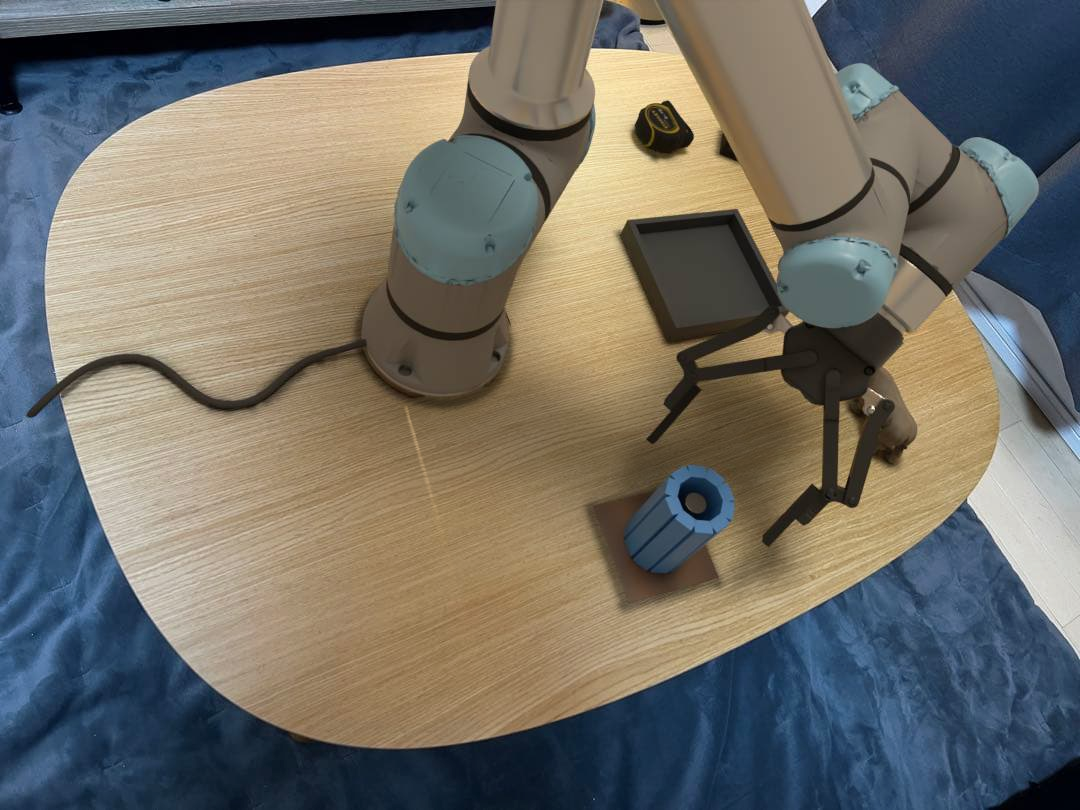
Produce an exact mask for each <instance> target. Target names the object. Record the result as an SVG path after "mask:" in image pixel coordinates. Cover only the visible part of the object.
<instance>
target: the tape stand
mask: <svg viewBox="0 0 1080 810" xmlns="http://www.w3.org/2000/svg"><path fill="white" fill-rule="evenodd" d="M654 492H655V491H651V492H647V493H642V494H637V495H633V496H630V497H625V498H621V499H616V500H612V501H608V502H603V503H600V504H595V505H592V508H593V511H594V513H595V517H596V518H597V521H598V525H599V527H600V530H601V532H602V535H603V538H604V541H605V543H606V546H607V549H608V551H609V554H610V557H611V559H612V562H613V565H614V568H615V571H616V573H617V576H618V579H619V581H620V583H621V587H622V591H623V592H624V595H625V597H626V600H627V603H628V604H631V603H634V602H638V601H641V600H645V599H648V598H652V597H655V596H658V595H663V594H666V593H669V592H673V591H676V590H681V589H683V588H684V589H685V588H688V587H691V586H694V585H698V584H702V583H706V582H708V581H712V580H716V579H719V577H720V576H719V575H718V572H717V570H716V568H715V564H714V563H713V560H712V558H711V556H710V553H709V550H708V548H707V546H706V544H705V545H704V546H703V547H702V548H701V549H699V550H698V551H697V552H696V553H695V554H694V555H692V556H691V557H690V558H689V559H688V560H686V561H685V562H684V563H683V564H681V565H680V566H679V567H677V568H676V569H675V570H673V571H672V572H668V573H666V574H665V573H651V572H650V568H649V569H648V570H647V571H646V570H645V569H643V568H642V567H641V566H639V565H638V564H637V563H636V562H634V561H633V559H634V557H635V556H632V557H630V555H629V552H628V550H627V547H626V545H625V542H624V541H625V539H626V538H625V537H624V535H625V531H626V527H627V524H628V522H629V521H630V519H631V518H632V516H633V515H634V514H635V513H636V512H637V511H638V510H639V509H640V508H641V507H642V505H643V504H644V503H645V502H646V501H647V500H648V499H649V498H650V497H651V495H652V494H653V493H654ZM680 504H681V506H682V508H683V510H684V511H685V512H686V513H688V514H689V515H690V516H691V517H693V518H694V519H696V518H697V517H698V516H699V515H701V514H702V513H703V512H704V511H705V509H706V501H705V499H704V497H703V496H702V495H700V494H698V493H690V494H688V495H687V496H686V497H685V498H684V499H683V500H682V501H681V502H680Z"/></svg>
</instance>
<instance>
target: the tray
mask: <svg viewBox="0 0 1080 810" xmlns="http://www.w3.org/2000/svg"><path fill="white" fill-rule="evenodd" d="M619 236H620V238H621V240H622V242H623V244H624V247H625V250H626V252H627V254H628V256H629V259H630V261H631V262H632V265H633V268H634V270H635V272H636V274H637V277H638V278H639V281H640V282H641V285H642V288H643V291H644V292H645V294H646V296H647V299H648V301H649V303H650V306H651V308H652V310H653V312H654V315H655V317H656V320H657V321H658V323H659V326H660V329H661V330H662V333H663V335H664V337H665V339H666V341H667V342H674V341H680V340H681V341H682V340H686V339H687V340H688V339H692V338H693V339H694V338H698V337H699V338H700V337H704V336H705V337H706V336H712V335H717V334H718V335H719V334H722V333H725V332H727V331H729V330H732V329H734V328H736V327H739V326H741V325H743V324H746V323H748V322H751V321H753V320H754V319H755V318H756V317H757V316H758V315H760V314H761V313H762V312H763V311H764V310H765V309H766V308H767V307H769V306H771V305H775V306H777V307H778V308H779V310H780V313H781V314H782V315H783V316H784V317H785V318H786V317H787V316H788V315H789V313H791V312H790V311H788V310H787V309H786V307H785V306H784V305H783V303H782V302H781V300H780V298H779V296H778V292H777V280H775V278H774V276H773V274H772V272H771V270H770V268H769V266H768V264H767V263H766V261H765V259H764V257H763V254H762V253H761V251H760V249H759V247H758V245H757V243H756V241H755V240H754V237H753V235H752V233H751V231H750V230H749V228H748V226H747V224H746V222H745V220H744V218H743V216H742V215H741V213H740V211H739V208H732V209H722V210H712V211H702V212H693V213H683V214H673V215H663V216H652V217H643V218H634V219H627V220H626V221H625V224H624V226H623V228H622V229H621V232H620V235H619Z"/></svg>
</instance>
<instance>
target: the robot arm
mask: <svg viewBox="0 0 1080 810" xmlns="http://www.w3.org/2000/svg"><path fill="white" fill-rule="evenodd" d="M495 1H496V2H495V7H494V8H495V9H494V15H493V22H492V30H491V36H490V43H489V45H488V46H487V47H485V48H483V49H482V50H481V51H479V52H478V53H477V54H476V56H475V57H474V58H473V60H472V61H471V63H470V66H469V70H468V75H467V84H466V91H465V98H464V108H463V113H462V116H461V119H460V122H459V125H458V126H457V127H456V129H455V131H454V132H453V133H452V134H451V136H450V137H449V139H448V140H447V139H445V138H442V139H439V140H437V141H435V142H433V143H431V144H429V145H428V146H426V147H424V148H423V149H422V150H421V151H420V152H418V154H417V155H416V156H415V157H414V158H413V159H412V161H411V162H410V163H409V165H408V167H407V168H406V170H405V172H404V175H403V177H402V179H401V182H400V185H399V187H398V190H397V195H396V200H395V202H394V206H393V207H394V211H393V217H394V219H393V227H392V236H391V242H390V250H389V256H388V257H389V259H388V267H387V274H386V277H385V278H384V280H383V282H381V284H380V285H379V286H378V288H376V289H375V290H374V292H373V293H372V295H371V296H370V298H369V300H368V302H367V304H366V305H365V309H364V310H363V311H364V312H363V315H362V321H361V329H360V331H361V332H360V339H359V340H356V341H351V342H350V343H349V342H348V343H345V344H342V345H339V346H337V347H332V348H327V349H323V350H320V351H318V352H315V353H312V354H310V355H308V356H306V357H304V358H302V359H300V360H299V361H296V363H294V364H293V365H291V366H290V367H289V368H288V369H286V371H284V372H283V373H282V374H281V375H280V376H278V378H276V379H275V380H274V381H273V382H271V384H269V385H268V386H267V387H265V388H264V389H263V390H262V391H260V392H258V393H256V394H255V395H252V396H250V397H246V398H243V399H236V400H222V399H218V398H215V397H211V396H210V395H207V394H205V393H203V392H202V391H200V390H199V389H197V388H196V387H195V386H193V385H192V384H191V383H189V382H188V381H187V380H186V379H185V378H183V377H182V376H181V375H180V374H179V373H178V372H177V371H175V370H174V369H173V368H171V367H170V366H168V365H167V364H166V363H164V362H162V361H161V360H158V359H156V358H154V357H151V356H149V355H144V354H141V353H140V354H139V353H120V354H113V355H109V356H104V357H100V358H97V359H95V360H93V361H90V362H88V363H86V364H84V365H81V366H80V367H78V368H76V369H75V370H74V371H72V372H71V373H69V374H68V375H66V376H65V377H64V378H63V379H62V380H59V382H58V383H56V384H55V385H54V386H53V387H52V388H51V389H50V390H49V391H47V392H46V393H45V394H44V395H43V396H42V397H41V398H40V399H39V400H38V401H37V402H35V404H34V405H32V406H31V408H30V409H29V410H28V411H27V412H26V414H25V416H26V417H27V419H32V418H35V417H36V416H38V415H39V413H40V412H41V411H42V410H44V409H45V408H46V407H47V406H48V405H49V404H50V403H51V402H52V401H53V400H54V399H55V398H56V397H57V396H58V395H60V394H61V392H63V391H64V390H65V389H66V388H67V387H69V386H70V385H71V384H72V383H74V382H75V381H77V380H78V379H80V378H81V377H83V376H84V375H86V374H88V373H90V372H92V371H94V370H95V369H98V368H101V367H104V366H107V365H111V364H115V363H123V362H137V363H142V364H146V365H149V366H152V367H154V368H155V369H157V370H159V371H160V372H162V373H163V374H165V375H166V376H167V377H169V378H170V379H171V380H172V381H174V382H175V384H177V385H178V386H179V387H181V389H183V390H184V391H185V392H186V393H188V394H189V395H191V397H194V398H195V399H197V400H198V401H200V402H203V403H204V404H206V405H209V406H213V407H216V408H220V409H239V408H245V407H248V406H252V405H255V404H257V403H259V402H261V401H263V400H265V399H266V398H268V397H269V396H271V395H272V394H273V393H274V392H276V390H278V389H279V388H280V387H282V386H283V384H285V383H286V382H287V381H288V380H289V379H290V378H291V377H292V376H294V375H295V374H296V373H298V372H299V371H301V370H302V369H303V368H305V367H306V366H308V365H311V364H312V363H314V362H317V361H319V360H322V359H326V358H329V357H333V356H337V355H341V354H344V353H347V352H350V351H354V350H358V349H360V348H362V350H363V353H364V356H365V357H366V359H367V360H366V361H367V362H368V363H369V366H370V367H371V368H372V369H373V371H374V372H375V373H376V374H377V375H378V376H379V378H381V379H382V380H383V381H384V383H386V384H387V385H389V386H390V387H392V388H393V389H396V391H398V392H400V393H402V394H404V395H407V396H410V397H412V398H416V399H419V398H423V397H425V398H426V397H427V398H432V399H450V398H456V397H462V396H465V395H469V394H471V393H474V392H476V391H478V390H480V389H481V388H484V387H487V386H489V385H490V384H491V383H492V382H493V381H494V379H496V377H497V376H498V375H499V373H500V371H501V369H502V367H503V364H504V362H505V360H506V357H507V354H508V351H509V345H510V344H509V343H510V329H509V327H510V328H512V324H511V320H510V318H509V315H508V313H507V311H506V305H507V302H508V299H509V296H510V294H511V290H512V287H513V285H514V282H515V279H516V276H517V274H518V272H519V270H520V268H521V265H522V264H523V262H524V259H525V257H526V256H527V254H528V252H529V251H530V249H531V247H532V245H533V244H534V242H535V240H536V238H537V237H538V236H539V234H540V232H541V230H542V228H543V226H544V225H545V223H546V222H547V220H548V218H549V216H550V215H551V213H552V212H553V210H554V209H555V207H556V205H557V203H558V202H559V199H560V198H561V197H562V195H563V193H564V191H565V190H566V188H567V186H568V184H569V183H570V181H571V180H572V178H573V176H574V175H575V173H576V172H577V170H578V169H579V167H580V165H581V164H582V163H583V162H584V161H585V159H586V157H587V156H588V153H589V150H590V148H591V145H592V141H593V137H594V133H595V130H596V121H597V118H596V116H597V115H596V107H595V99H596V87H595V82H594V80H593V77H592V76H591V74H590V72H589V71H588V70H587V65H588V62H589V57H590V54H591V49H592V47H593V43H594V42H593V41H594V38H595V34H596V32H597V31H596V30H597V26H598V23H599V19H600V17H601V16H600V15H601V11H602V8H603V5H604V4H603V3H604V0H495ZM653 1H654V3H655V5H656V7H657V9H658V11H659V13H660V14H661V17H662V19H663V20H664V22H665V24H666V26H667V28H668V30H669V32H670V34H671V36H672V37H673V39H674V42H675V44H676V45H677V47H678V49H679V51H680V53H681V54H682V56H683V59H684V61H685V62H686V64H687V66H688V68H689V70H690V72H691V74H692V76H693V78H694V80H695V81H696V84H697V85H698V87H699V89H700V91H701V93H702V95H703V97H704V98H705V99H704V100H705V101H706V103H707V104H708V106H709V108H710V110H711V112H712V114H713V116H714V118H715V120H716V121H717V123H718V125H719V127H720V129H721V131H722V134H723V133H724V135H725V137H726V139H727V140H728V142H729V144H730V146H731V148H732V150H733V152H734V154H735V156H736V158H737V160H736V161H737V162H738V163H739V165H740V167H741V169H742V171H743V173H744V176H745V177H746V179H747V181H748V183H749V184H750V186H751V188H752V189H753V192H754V194H755V196H756V198H757V199H758V201H759V203H760V206H761V207H762V209H763V211H764V213H765V214H766V217H767V219H768V221H769V223H770V226H771V228H772V230H773V232H774V234H775V236H776V238H777V240H778V242H779V244H780V245H781V249H782V253H783V254H782V255H781V256H780V258H779V260H778V263H777V269H778V273H777V276H776V283H777V292H778V296H779V298H780V300H781V302H782V303H783V305H784V306H785V307H786V309H787V310H788V311H790V312H789V313H790V314H792V315H793V316H794V317H796V318H797V319H799V320H800V321H801V322H800V323H797V324H795V325H793V324H792V323H791V322H790V321H789V320H788V319H787V318H786V317H784V316H783V315H782V314H781V313H780V310H779V308H778V307H777V306H775V305H771V306H769V307H767V308H766V309H765V310H764V311H763V312H762V313H761V314H760V315H758V316H757V317H756V318H755V319H754V320H753V321H751V322H748V323H746V324H743V325H741V326H739V327H736V328H734V329H732V330H729V331H727V332H724V333H719V334H718V335H715V336H713V337H711V338H708V339H706V340H703V341H701V342H698V343H697V344H694V345H691V346H689V347H687V348H684V349H682V350H680V351H679V352H677V354H676V357H675V359H676V362H677V363H678V364H679V366H680V367H681V370H682V371H683V377H682V379H681V380H680V381H679V382H678V383H677V384H676V386H675V387H674V388H673V389H672V390H671V391H670V392H669V394H668V395H667V396H666V397H665V398H664V401H663V403H662V405H663V406H664V407H665V408H667V410H668V411H670V412H669V413H667V415H666V416H665V417H664V418H663V419H662V420H661V422H660V423H659V424H658V425H657V426H656V428H654V430H653V431H652V432H651V433H650V434H649V436H647V438H646V440H645V441H647V442H648V443H649V444H651V446H653V445H654V444H656V443H658V441H659V440H660V438H661V437H663V435H665V433H666V432H667V431H668V430H669V429H670V427H671V426H672V425H673V424H674V423H675V422H676V420H677V419H678V418H679V417H680V416H681V415H682V413H684V411H685V410H686V409H687V408H688V407H689V406H690V405H691V404H692V402H693V401H694V400H695V399H696V398H697V397H698V395H699V394H700V393H701V392H702V391H703V389H702V388H701V387H700V386H699V385H698V384H699V383H702V382H708V381H713V380H714V381H715V380H722V379H727V378H733V377H740V376H747V375H752V374H760V373H766V372H773V371H780V375H781V377H782V379H783V382H785V384H787V385H789V387H790V388H793V389H795V390H798V391H799V392H800V394H801V395H802V396H803V397H804V399H805V400H807V402H809V403H810V405H815V406H821V407H823V408H822V420H823V421H822V451H821V452H822V454H821V455H822V456H821V459H822V460H821V486H820V487H817V486H816V485H815V484H813V483H811V484H810V485H809V486H808V487H807V488H806V489H805V490H804V491H803V492H802V493H801V494H800V495H799V496H798V497H797V498H796V499H795V501H793V503H791V504H790V506H789V507H788V508H787V509H786V510H785V511H784V512H783V513H782V514H781V515H780V517H778V518H777V519H776V520H775V521H774V522H773V523H772V525H771V526H769V528H768V529H767V530H766V531H765V532H764V533H762V536H761V537H762V538H761V542H762V543H763V545H765V546H766V547H767V548H769V547H771V545H772V544H773V543H774V542H776V540H777V539H778V538H779V537H780V536H781V535H782V534H783V533H784V532H785V531H786V530H787V529H788V528H789V527H790V526H791V525H792V524H793V522H795V521H796V522H798V523H799V524H800V525H801V526H807V525H808V524H810V523H811V522H812V521H813V520H815V518H816V517H817V516H818V515H819V514H820V513H821V511H823V509H825V508H826V507H827V506H828V505H829V504H831V503H834V502H835V503H839V504H841V505H844V506H846V507H847V508H850V509H854V508H856V507H858V506H859V504H860V501H861V498H862V494H863V490H864V487H865V484H866V481H867V477H868V474H869V470H870V467H871V463H872V459H873V456H874V454H875V453H874V450H875V446H876V443H877V440H878V439H879V433H880V430H881V426H882V425H883V424H884V422H885V421H886V420H887V418H888V417H889V416H890V414H891V413H892V412H893V410H894V408H895V404H894V402H893V401H892V400H890V399H888V398H884V397H882V396H881V395H879V394H878V393H876V392H874V391H873V390H871V389H870V388H868V386H869V383H870V380H871V378H872V377H873V376H874V374H875V373H876V372H877V371H878V370H879V369H880V368H881V367H883V366H884V365H885V364H886V363H887V362H888V361H889V360H890V358H891V357H893V355H894V354H896V352H897V351H898V350H899V349H900V348H901V347H902V346H903V345H904V340H905V338H904V333H908V334H911V333H912V334H913V333H916V331H917V330H918V329H919V328H920V327H921V326H922V325H923V324H924V323H925V322H926V320H928V318H929V317H930V316H931V315H932V314H933V313H934V312H935V311H936V310H937V309H938V308H939V307H940V305H941V304H943V303H944V301H945V300H946V299H947V298H948V296H949V295H950V294H951V292H953V291H954V290H955V289H956V288H957V287H958V286H959V285H960V284H961V282H963V280H964V279H965V278H966V277H968V275H970V273H971V272H972V271H973V270H974V269H975V268H976V267H977V266H978V265H979V264H980V263H981V262H982V261H983V260H984V258H986V256H987V255H988V254H990V252H991V251H992V250H993V249H994V248H995V247H996V246H997V245H998V244H999V243H1000V242H1001V241H1002V240H1005V239H1006V238H1007V237H1008V236H1009V234H1010V233H1011V231H1012V229H1014V227H1015V226H1016V225H1017V223H1019V221H1020V220H1021V219H1022V218H1023V217H1024V216H1025V214H1026V213H1027V212H1028V210H1029V208H1031V206H1032V205H1033V203H1034V202H1035V201H1036V199H1037V197H1038V195H1039V190H1040V186H1039V181H1038V179H1037V176H1036V175H1035V173H1034V172H1033V170H1032V168H1031V167H1030V166H1028V165H1027V164H1026V162H1025V161H1023V160H1022V159H1021V158H1020V157H1019V156H1016V155H1015V154H1013V153H1011V152H1010V151H1009V149H1007V148H1006V147H1004V146H1003V145H1001V144H999V143H997V142H995V141H993V140H991V139H988V138H984V137H978V136H977V137H970V138H968V139H966V140H964V141H963V142H962V143H961V144H960V145H959V146H957V145H954V144H953V143H952V142H951V141H950V140H949V139H948V138H947V137H946V136H945V135H944V134H943V133H942V132H941V131H940V130H939V129H938V128H937V127H936V126H935V125H934V124H933V123H932V122H931V121H930V120H929V119H928V118H927V117H926V116H925V115H924V114H923V113H922V112H921V111H920V110H919V109H918V108H917V106H915V105H914V104H913V103H912V101H910V100H909V99H908V98H907V97H906V96H905V95H904V94H903V93H902V92H901V91H900V87H898V85H893V84H892V83H891V82H890V81H888V80H887V79H886V78H885V77H883V75H881V74H880V73H878V72H877V70H875V69H874V68H872V66H871V65H869V64H866V63H861V62H860V63H853V64H850V65H847V66H845V67H844V68H841V69H840V70H838V71H837V72H835V71H834V69H833V65H832V64H831V61H830V59H829V56H828V54H827V51H826V49H825V47H824V44H823V42H822V39H821V37H820V34H819V32H818V30H817V28H816V24H815V23H814V19H813V17H812V15H811V13H810V11H809V8H808V6H807V4H806V0H653ZM763 331H764V332H765V333H766V334H770V335H772V334H775V333H777V332H781V333H783V334H784V335H783V340H782V341H783V342H782V351H781V354H778V355H771V356H766V357H765V356H764V357H760V358H754V359H753V358H751V359H747V360H741V361H740V360H739V361H734V362H728V363H722V364H715V365H709V366H703V367H699V365H698V363H697V360H699V359H702V358H704V357H706V356H708V355H709V356H710V355H711V354H714V353H716V352H718V351H722V350H723V349H726V348H728V347H730V346H733V345H735V344H738V343H739V342H742V341H744V340H747V339H749V338H752V337H754V336H756V335H758V334H760V333H761V332H763ZM860 397H862V398H863V399H864V406H863V410H862V412H863V414H864V415H865V416H866V417H865V419H864V421H863V424H862V427H861V431H860V434H859V437H858V440H857V445H856V448H855V452H854V454H853V458H852V460H851V461H852V462H851V466H850V468H849V473H848V476H847V478H846V483H845V486H844V487H843V486H841V485H838V481H839V479H838V477H839V442H840V441H839V435H840V433H839V432H840V411H841V408H840V407H841V406H840V404H841V402H846V401H851V400H856V399H860Z"/></svg>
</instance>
